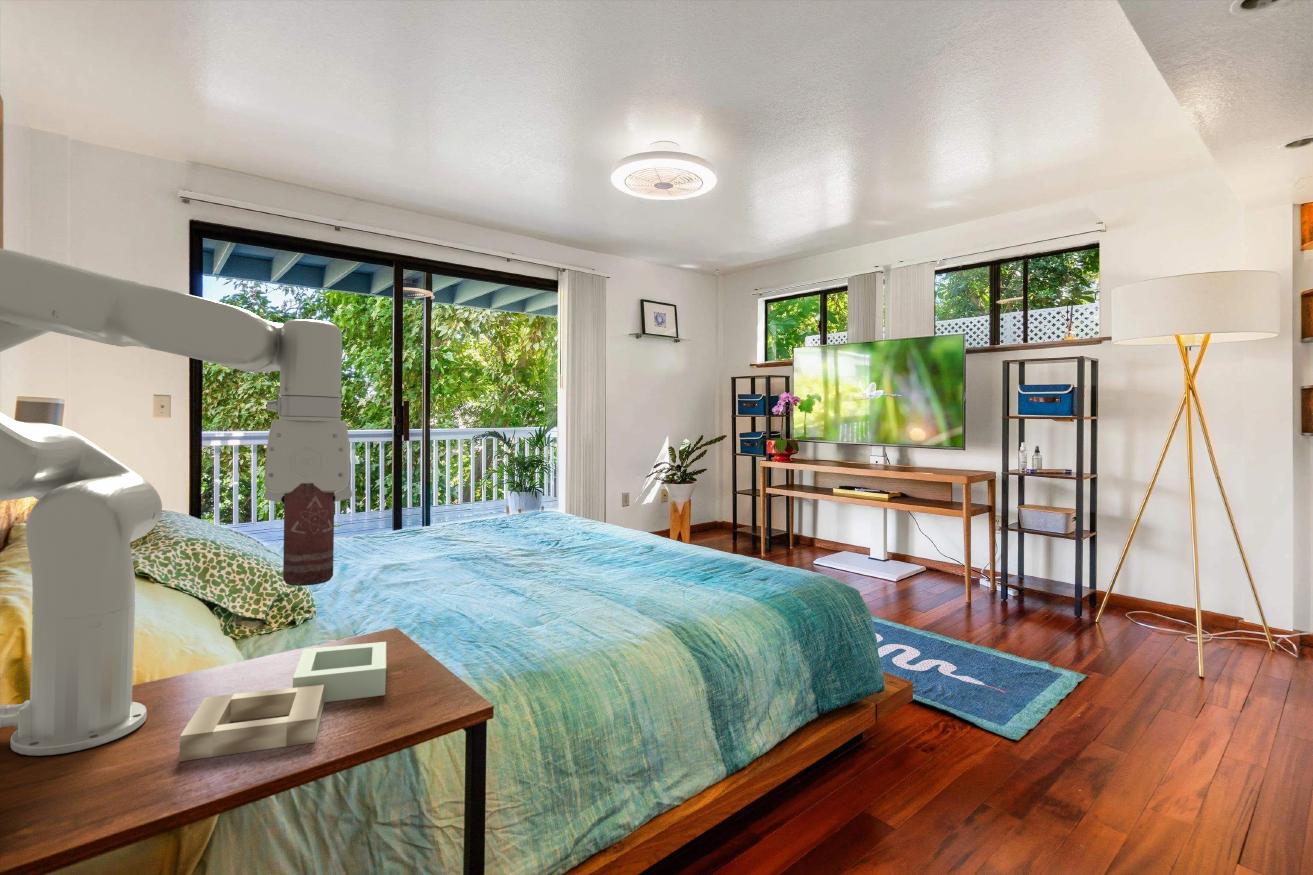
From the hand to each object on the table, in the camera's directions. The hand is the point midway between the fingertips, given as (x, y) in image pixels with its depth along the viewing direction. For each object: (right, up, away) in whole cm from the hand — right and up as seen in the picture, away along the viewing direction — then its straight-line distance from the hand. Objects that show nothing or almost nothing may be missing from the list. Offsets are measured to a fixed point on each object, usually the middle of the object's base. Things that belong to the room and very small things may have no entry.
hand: (308, 541), depth 87 cm
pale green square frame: (0, -23, +8) cm, 25 cm away
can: (0, -6, 0) cm, 6 cm away
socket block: (-3, -23, -7) cm, 24 cm away
